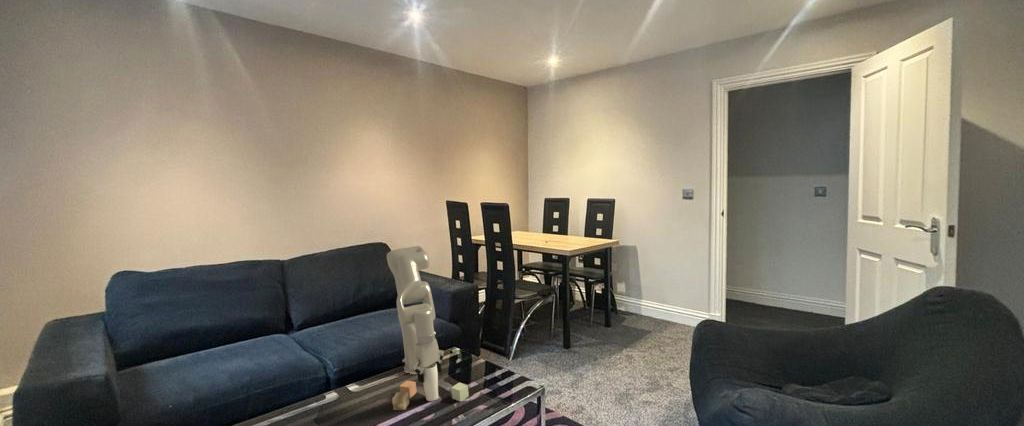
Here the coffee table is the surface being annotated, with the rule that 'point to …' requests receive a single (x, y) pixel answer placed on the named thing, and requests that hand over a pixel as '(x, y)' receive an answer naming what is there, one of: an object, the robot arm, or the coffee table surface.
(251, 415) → the coffee table surface
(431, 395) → the drinking glass
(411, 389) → the terracotta block
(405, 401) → the birch block
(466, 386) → the sage block
